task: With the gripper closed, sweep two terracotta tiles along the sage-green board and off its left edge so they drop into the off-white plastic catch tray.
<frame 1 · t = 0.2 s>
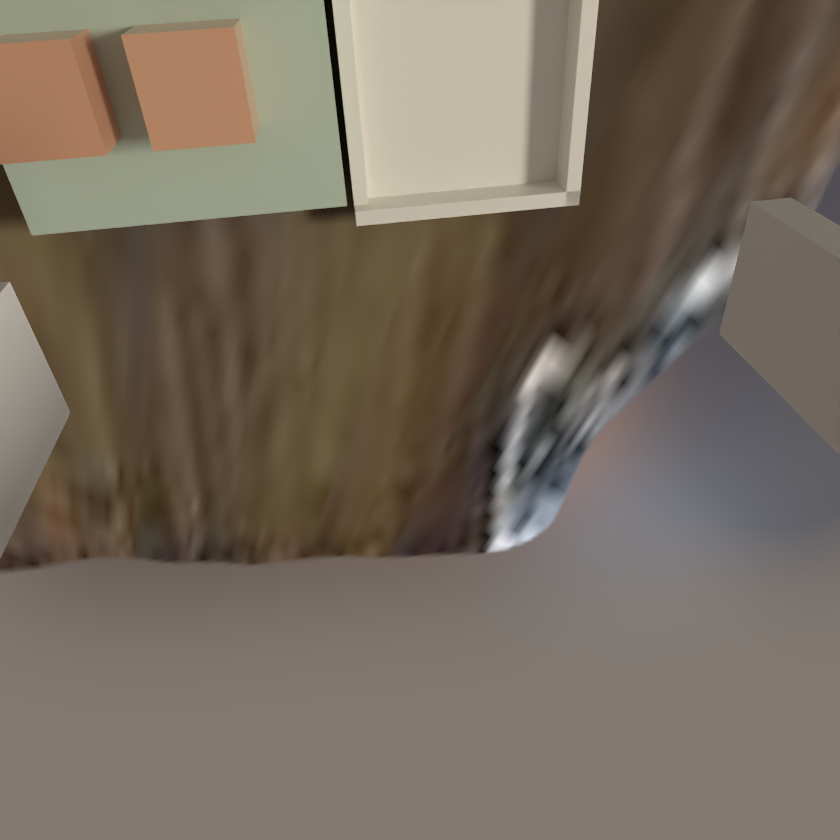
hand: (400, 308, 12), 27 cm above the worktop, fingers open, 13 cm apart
board: (169, 68, 33), on the worktop
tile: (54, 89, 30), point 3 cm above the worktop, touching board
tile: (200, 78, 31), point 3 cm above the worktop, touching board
tray: (459, 46, 35), on the worktop
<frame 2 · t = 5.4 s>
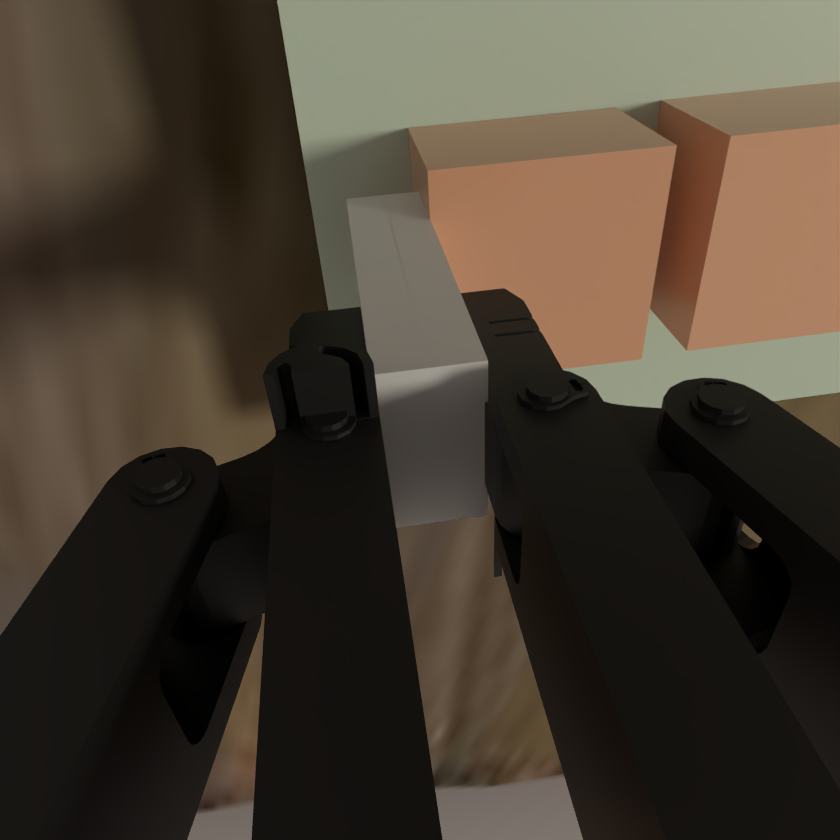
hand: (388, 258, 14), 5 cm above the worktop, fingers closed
board: (604, 159, 19), on the worktop
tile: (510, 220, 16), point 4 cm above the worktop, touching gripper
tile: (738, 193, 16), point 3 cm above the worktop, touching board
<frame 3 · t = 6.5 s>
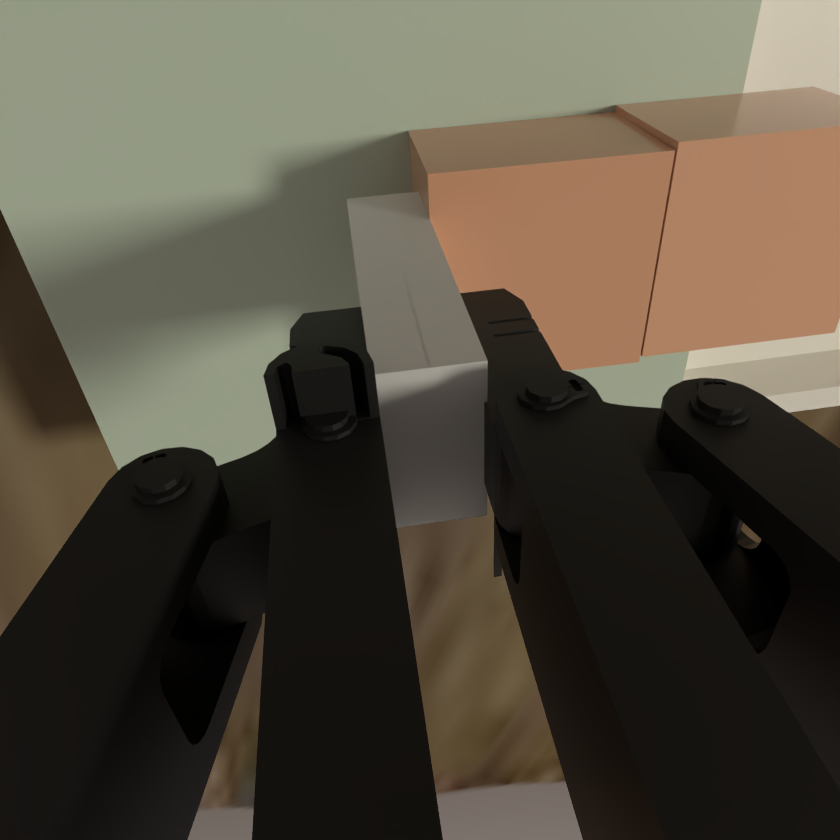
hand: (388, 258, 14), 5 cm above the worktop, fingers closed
board: (375, 181, 18), on the worktop
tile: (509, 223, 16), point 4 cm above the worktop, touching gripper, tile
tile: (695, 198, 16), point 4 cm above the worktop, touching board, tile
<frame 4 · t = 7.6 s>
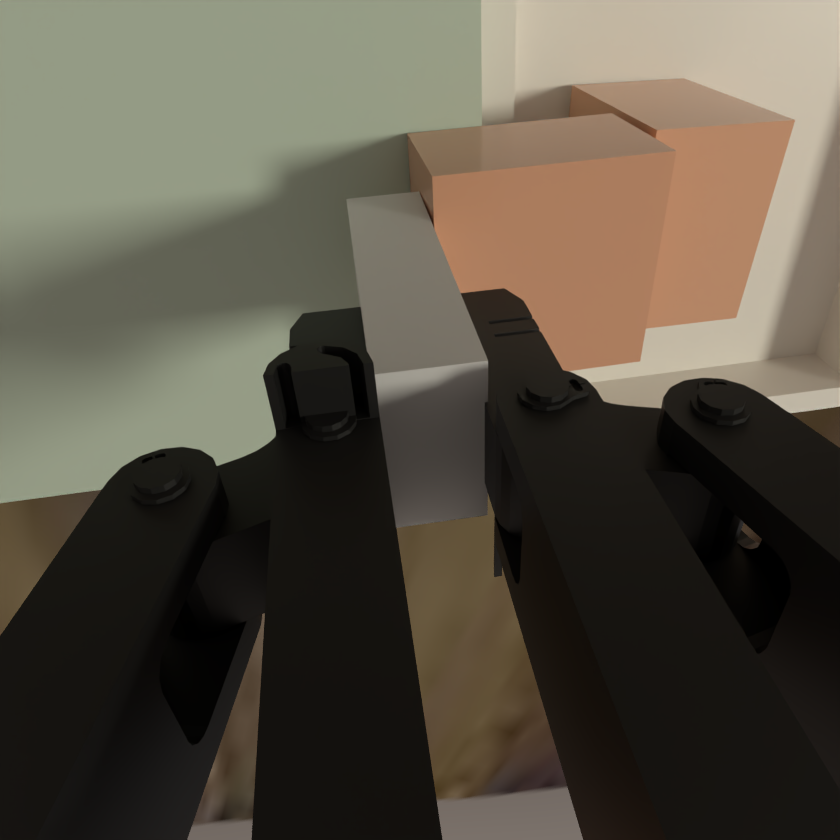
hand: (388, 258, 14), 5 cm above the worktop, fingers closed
board: (158, 205, 18), on the worktop
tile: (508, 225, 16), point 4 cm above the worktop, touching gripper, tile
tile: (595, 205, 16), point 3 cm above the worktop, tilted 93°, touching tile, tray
tray: (692, 148, 19), on the worktop
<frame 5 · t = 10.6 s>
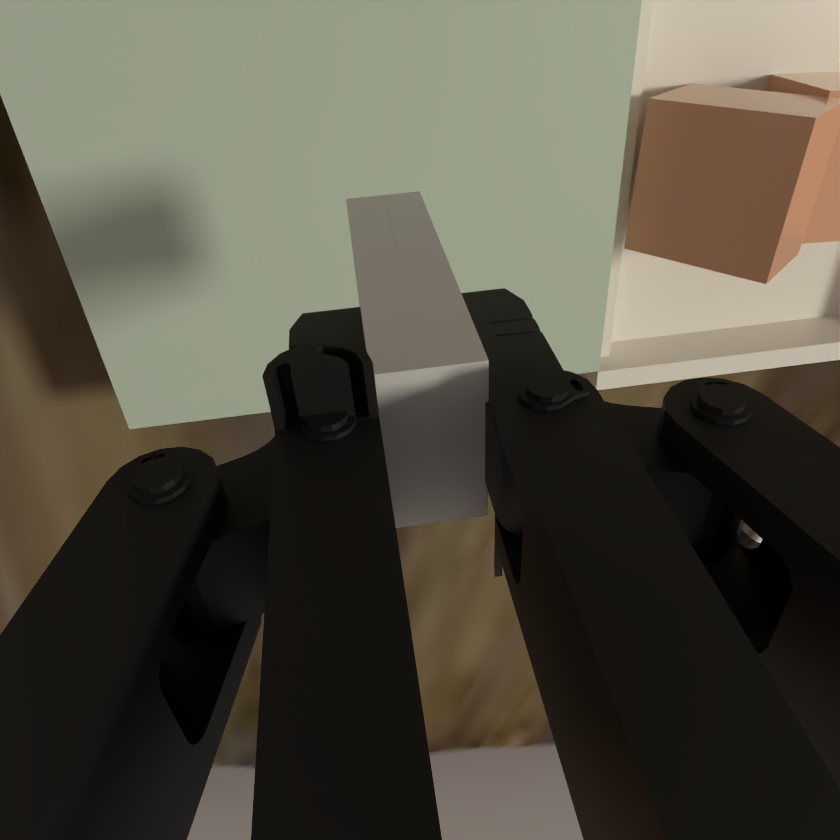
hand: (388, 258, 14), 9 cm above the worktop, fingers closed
board: (342, 174, 22), on the worktop
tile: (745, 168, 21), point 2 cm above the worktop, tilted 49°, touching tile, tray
tray: (771, 133, 23), on the worktop
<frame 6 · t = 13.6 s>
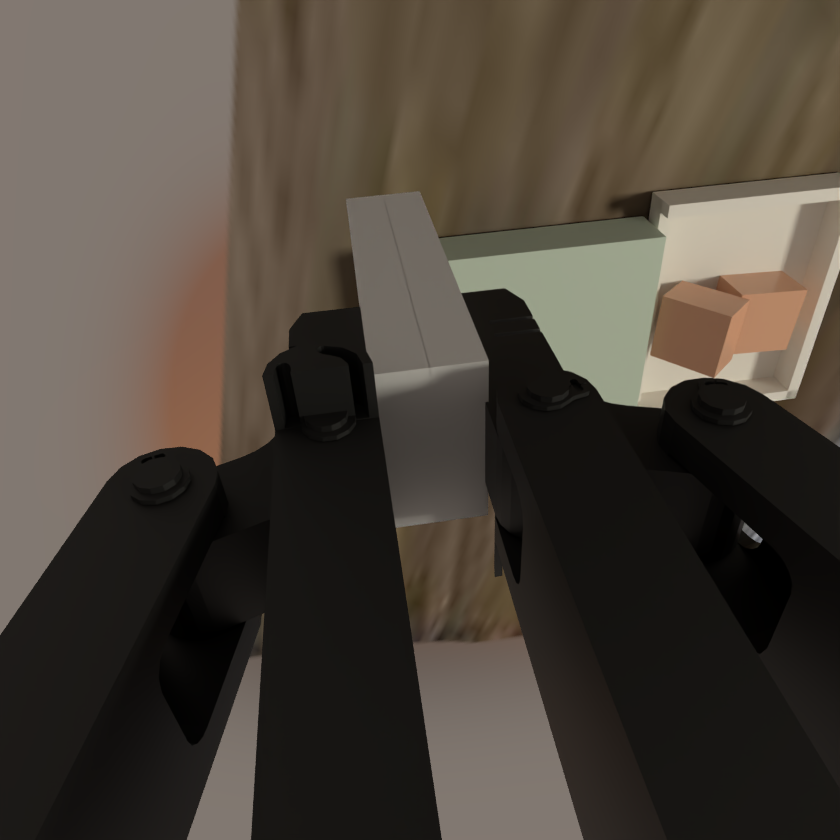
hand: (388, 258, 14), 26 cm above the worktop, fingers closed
board: (517, 320, 46), on the worktop
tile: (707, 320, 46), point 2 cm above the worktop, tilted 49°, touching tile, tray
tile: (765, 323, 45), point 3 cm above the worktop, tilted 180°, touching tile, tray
tray: (721, 296, 47), on the worktop
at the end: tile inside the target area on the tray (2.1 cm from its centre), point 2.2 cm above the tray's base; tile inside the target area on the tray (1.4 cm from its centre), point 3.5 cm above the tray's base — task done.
